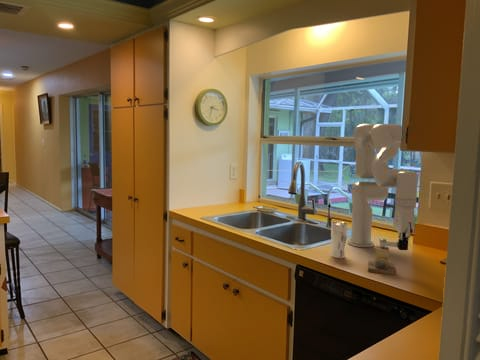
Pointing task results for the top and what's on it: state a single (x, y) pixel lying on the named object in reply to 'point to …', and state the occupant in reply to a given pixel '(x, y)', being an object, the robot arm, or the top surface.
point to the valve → (381, 262)
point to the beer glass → (338, 239)
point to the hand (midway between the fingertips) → (402, 249)
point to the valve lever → (387, 243)
